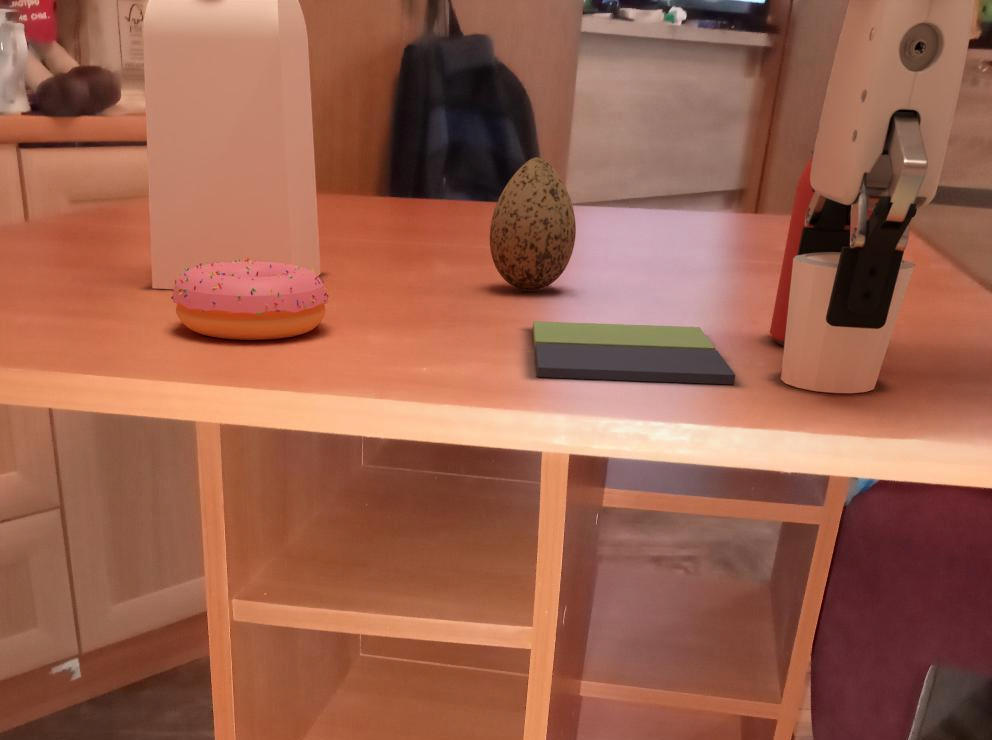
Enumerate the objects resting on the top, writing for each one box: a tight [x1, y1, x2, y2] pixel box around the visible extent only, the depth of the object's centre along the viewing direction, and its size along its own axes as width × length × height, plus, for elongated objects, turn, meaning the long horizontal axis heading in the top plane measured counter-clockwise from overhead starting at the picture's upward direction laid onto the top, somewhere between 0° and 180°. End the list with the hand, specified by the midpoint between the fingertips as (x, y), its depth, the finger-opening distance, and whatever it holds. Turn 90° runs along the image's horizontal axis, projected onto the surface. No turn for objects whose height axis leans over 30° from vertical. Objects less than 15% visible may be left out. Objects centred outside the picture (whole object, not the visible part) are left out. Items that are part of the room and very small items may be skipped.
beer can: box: [769, 147, 873, 347], centre depth 78 cm, size 7×7×12 cm
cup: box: [780, 252, 916, 394], centre depth 69 cm, size 7×7×7 cm
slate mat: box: [534, 344, 736, 385], centre depth 73 cm, size 12×7×1 cm, turn 85°
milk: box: [142, 0, 322, 290], centre depth 93 cm, size 12×12×26 cm
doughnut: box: [170, 258, 330, 341], centre depth 81 cm, size 11×11×4 cm
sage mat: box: [532, 320, 716, 350], centre depth 80 cm, size 12×7×1 cm, turn 85°
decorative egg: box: [489, 156, 577, 292], centre depth 96 cm, size 7×7×10 cm
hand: (833, 311), depth 69 cm, fingers open, 9 cm apart
